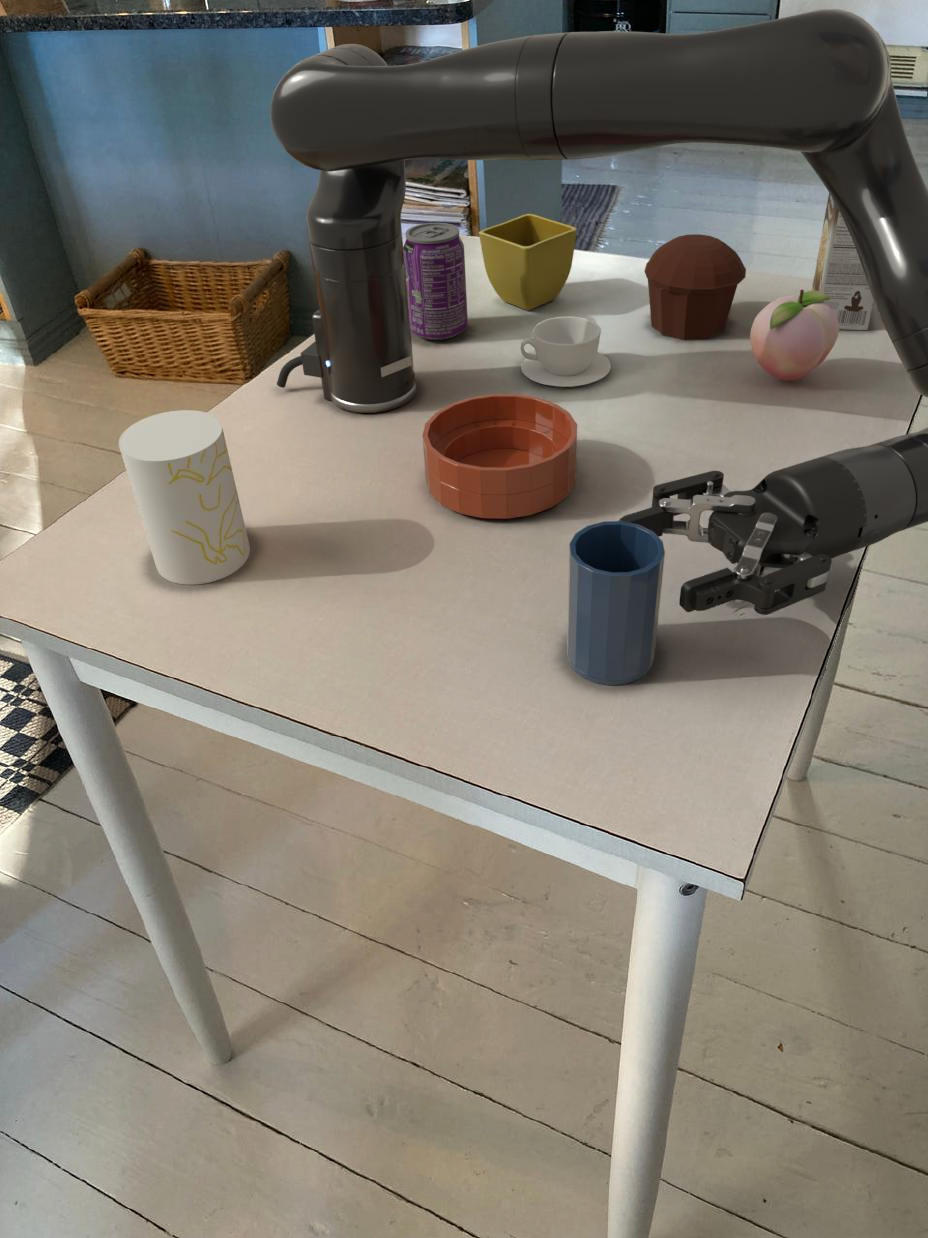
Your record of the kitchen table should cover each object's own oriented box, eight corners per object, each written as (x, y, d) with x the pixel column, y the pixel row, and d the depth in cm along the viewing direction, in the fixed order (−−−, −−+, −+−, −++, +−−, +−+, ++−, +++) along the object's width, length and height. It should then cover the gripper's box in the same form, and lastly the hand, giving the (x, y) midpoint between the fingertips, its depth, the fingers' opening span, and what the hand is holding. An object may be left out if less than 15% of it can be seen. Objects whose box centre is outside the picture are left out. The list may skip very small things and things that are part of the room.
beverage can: (433, 315, 125) (426, 217, 117) (479, 327, 121) (475, 226, 114) (398, 336, 120) (388, 235, 113) (444, 348, 117) (438, 246, 109)
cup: (205, 595, 83) (170, 470, 75) (136, 567, 86) (96, 445, 78) (269, 544, 88) (243, 423, 80) (201, 520, 91) (170, 402, 84)
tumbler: (555, 672, 73) (556, 563, 67) (583, 620, 78) (587, 513, 71) (639, 694, 71) (649, 584, 65) (663, 639, 76) (674, 531, 69)
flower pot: (527, 321, 122) (526, 247, 116) (479, 302, 127) (476, 230, 122) (577, 299, 126) (578, 227, 120) (529, 282, 131) (528, 212, 126)
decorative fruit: (770, 354, 112) (784, 266, 105) (839, 373, 107) (858, 282, 101) (727, 386, 106) (739, 294, 100) (798, 407, 102) (815, 313, 96)
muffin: (621, 322, 120) (625, 238, 114) (685, 297, 125) (693, 216, 119) (693, 354, 113) (702, 266, 106) (759, 326, 118) (772, 241, 111)
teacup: (604, 348, 115) (605, 309, 112) (616, 387, 107) (618, 346, 104) (517, 353, 115) (517, 314, 112) (524, 393, 107) (523, 352, 104)
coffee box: (808, 298, 123) (832, 160, 113) (862, 300, 122) (892, 161, 112) (812, 329, 116) (839, 185, 106) (870, 331, 115) (903, 186, 105)
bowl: (402, 506, 92) (396, 454, 88) (463, 434, 101) (460, 384, 98) (545, 536, 87) (545, 482, 83) (595, 457, 96) (597, 406, 93)
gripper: (781, 420, 78) (600, 473, 73) (914, 509, 67) (713, 577, 63) (767, 501, 82) (596, 555, 78) (890, 595, 72) (701, 665, 68)
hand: (649, 565), depth 70 cm, fingers open, 8 cm apart
